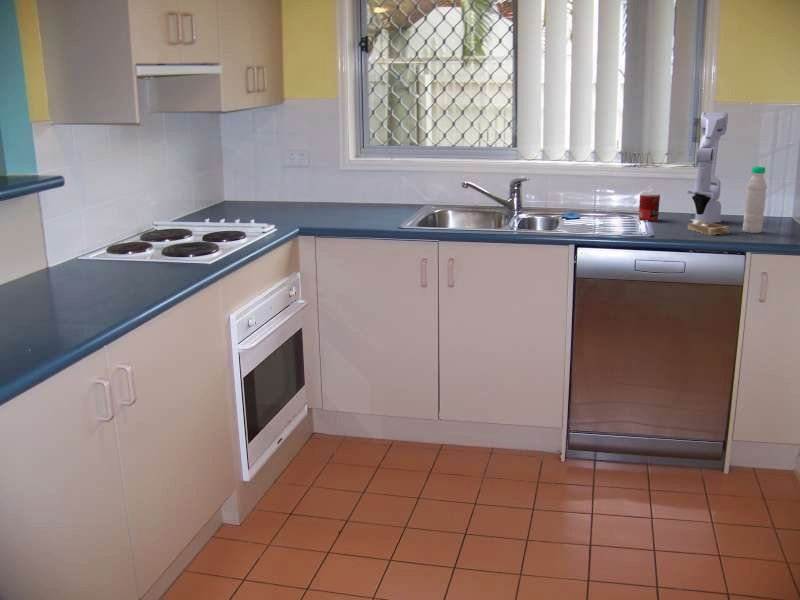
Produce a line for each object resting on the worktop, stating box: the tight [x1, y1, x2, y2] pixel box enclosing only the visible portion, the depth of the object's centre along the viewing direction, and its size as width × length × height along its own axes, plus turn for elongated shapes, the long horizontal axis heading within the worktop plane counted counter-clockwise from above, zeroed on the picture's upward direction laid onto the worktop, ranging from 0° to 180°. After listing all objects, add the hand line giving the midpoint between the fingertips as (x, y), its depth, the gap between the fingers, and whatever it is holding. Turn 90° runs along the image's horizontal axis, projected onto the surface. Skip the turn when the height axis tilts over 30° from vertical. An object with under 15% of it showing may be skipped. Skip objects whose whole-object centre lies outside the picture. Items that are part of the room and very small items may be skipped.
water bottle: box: [742, 166, 768, 234], centre depth 334 cm, size 7×7×25 cm
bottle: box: [691, 220, 711, 228], centre depth 340 cm, size 4×4×8 cm
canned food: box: [638, 191, 661, 222], centre depth 362 cm, size 8×8×11 cm
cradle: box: [687, 222, 731, 236], centre depth 338 cm, size 9×13×2 cm
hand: (700, 214), depth 341 cm, fingers closed
